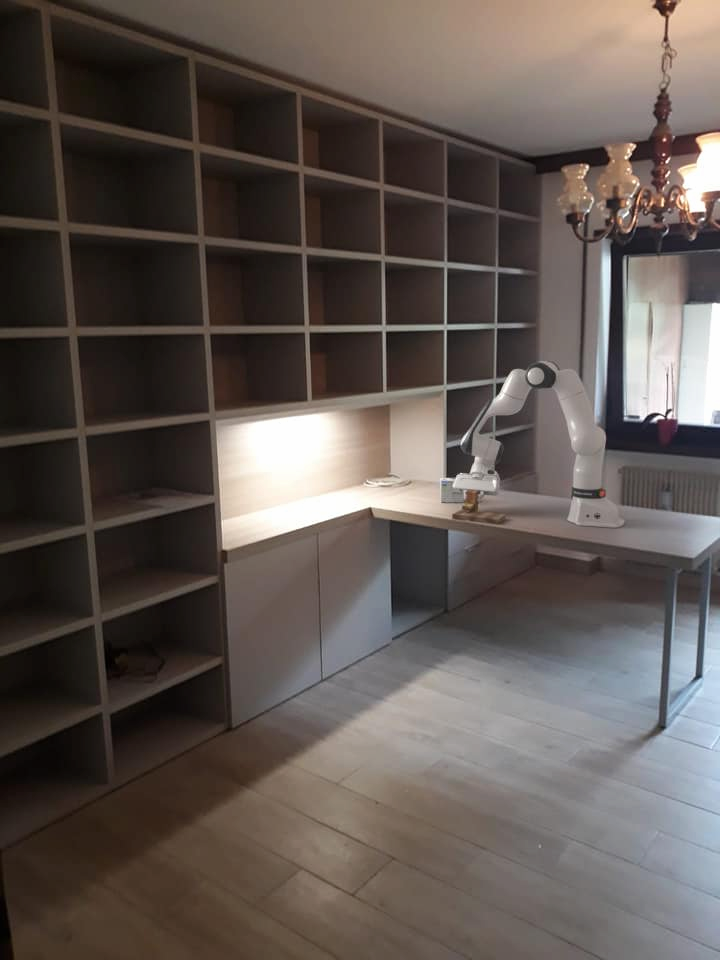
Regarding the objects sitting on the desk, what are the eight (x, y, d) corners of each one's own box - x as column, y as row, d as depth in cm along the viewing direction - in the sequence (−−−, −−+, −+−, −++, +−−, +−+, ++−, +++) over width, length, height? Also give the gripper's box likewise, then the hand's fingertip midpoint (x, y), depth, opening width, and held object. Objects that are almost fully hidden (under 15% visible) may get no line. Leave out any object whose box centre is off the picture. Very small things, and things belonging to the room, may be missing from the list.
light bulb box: (462, 500, 363) (462, 477, 361) (463, 503, 356) (464, 480, 354) (439, 500, 363) (439, 477, 361) (440, 503, 356) (440, 480, 354)
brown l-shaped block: (477, 511, 336) (478, 490, 334) (469, 515, 328) (470, 494, 326) (469, 510, 338) (469, 489, 336) (461, 514, 330) (461, 493, 328)
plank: (505, 519, 326) (505, 514, 325) (497, 524, 317) (498, 519, 317) (461, 514, 335) (461, 509, 335) (452, 518, 327) (452, 514, 326)
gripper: (455, 468, 343) (447, 494, 336) (500, 472, 333) (492, 498, 327) (459, 476, 348) (450, 502, 341) (503, 480, 338) (495, 507, 331)
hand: (471, 500), depth 334 cm, fingers closed on brown l-shaped block, 4 cm apart
